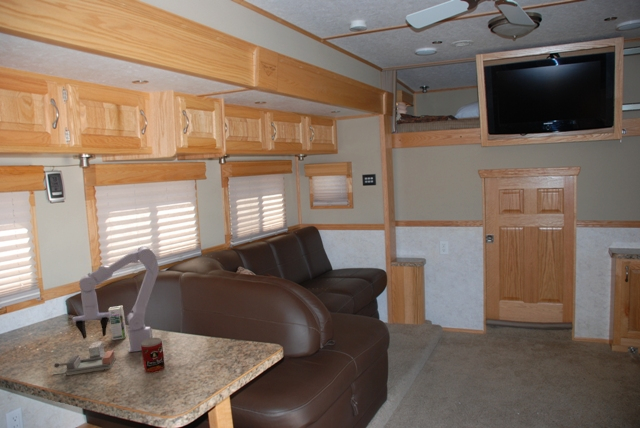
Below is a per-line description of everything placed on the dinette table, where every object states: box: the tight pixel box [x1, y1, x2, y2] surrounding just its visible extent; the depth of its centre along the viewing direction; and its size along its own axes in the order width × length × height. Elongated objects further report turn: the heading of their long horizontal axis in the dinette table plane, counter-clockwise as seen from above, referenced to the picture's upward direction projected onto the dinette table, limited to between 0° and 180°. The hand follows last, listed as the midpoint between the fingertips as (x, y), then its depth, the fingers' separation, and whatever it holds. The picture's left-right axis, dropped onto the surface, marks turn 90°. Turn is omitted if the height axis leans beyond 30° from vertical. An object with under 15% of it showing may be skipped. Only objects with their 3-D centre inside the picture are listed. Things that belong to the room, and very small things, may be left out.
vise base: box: [53, 354, 116, 376], centre depth 201 cm, size 22×10×4 cm, turn 100°
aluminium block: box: [88, 340, 106, 358], centre depth 211 cm, size 4×7×6 cm, turn 10°
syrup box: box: [107, 305, 127, 341], centre depth 234 cm, size 6×6×14 cm
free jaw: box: [102, 349, 116, 365], centre depth 203 cm, size 3×8×3 cm, turn 10°
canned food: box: [141, 337, 166, 374], centre depth 194 cm, size 8×8×11 cm
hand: (94, 336), depth 210 cm, fingers open, 7 cm apart
